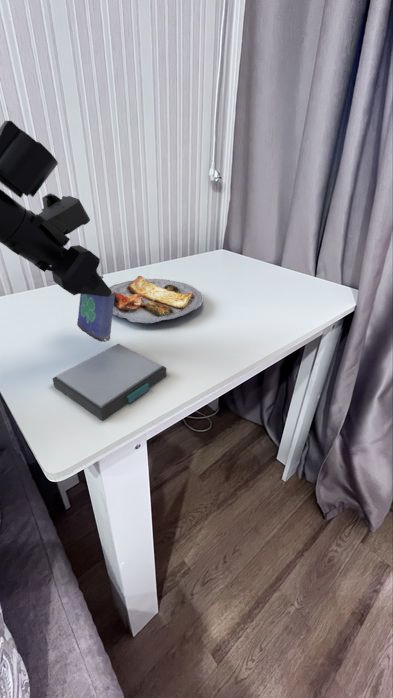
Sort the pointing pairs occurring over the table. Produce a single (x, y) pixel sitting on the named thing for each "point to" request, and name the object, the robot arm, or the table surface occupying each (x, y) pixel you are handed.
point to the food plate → (154, 299)
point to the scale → (109, 380)
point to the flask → (96, 315)
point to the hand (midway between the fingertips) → (96, 285)
